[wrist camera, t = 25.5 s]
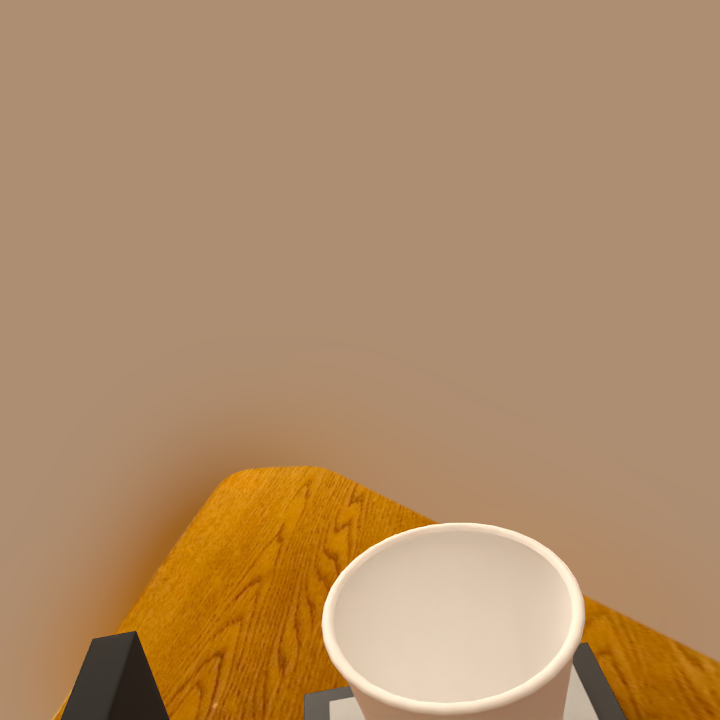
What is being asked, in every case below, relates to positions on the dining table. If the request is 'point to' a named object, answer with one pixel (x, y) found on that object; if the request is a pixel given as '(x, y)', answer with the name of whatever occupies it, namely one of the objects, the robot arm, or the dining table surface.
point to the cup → (456, 626)
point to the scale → (582, 708)
